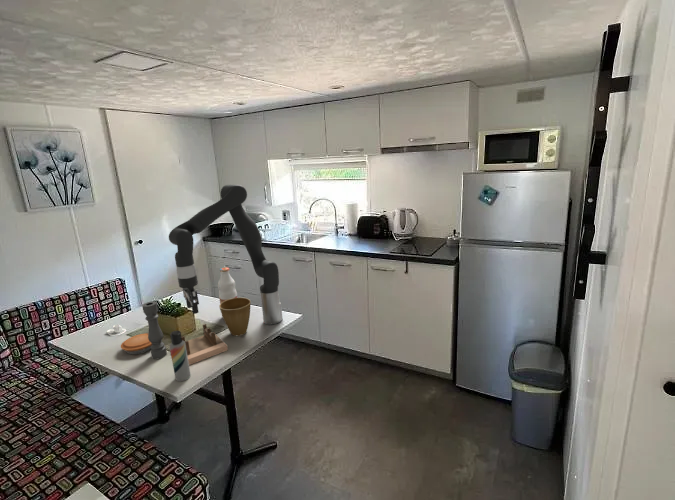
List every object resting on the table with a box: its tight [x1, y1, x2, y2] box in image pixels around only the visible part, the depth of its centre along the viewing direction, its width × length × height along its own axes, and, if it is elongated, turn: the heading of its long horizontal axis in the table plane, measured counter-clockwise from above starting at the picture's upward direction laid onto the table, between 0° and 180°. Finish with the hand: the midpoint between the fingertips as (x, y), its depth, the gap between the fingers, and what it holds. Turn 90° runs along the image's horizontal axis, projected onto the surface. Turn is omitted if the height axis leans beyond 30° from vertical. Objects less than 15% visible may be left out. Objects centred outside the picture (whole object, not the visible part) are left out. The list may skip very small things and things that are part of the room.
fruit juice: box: [217, 267, 238, 319], centre depth 197 cm, size 9×9×28 cm
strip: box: [188, 341, 228, 366], centre depth 160 cm, size 18×4×3 cm, turn 130°
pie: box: [120, 332, 152, 355], centre depth 170 cm, size 15×16×5 cm
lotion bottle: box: [169, 330, 192, 382], centre depth 142 cm, size 6×6×20 cm
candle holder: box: [141, 301, 168, 360], centre depth 160 cm, size 6×6×25 cm
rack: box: [181, 323, 224, 356], centre depth 168 cm, size 20×14×7 cm
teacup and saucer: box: [105, 324, 127, 337], centre depth 188 cm, size 9×8×4 cm
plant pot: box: [219, 297, 251, 337], centre depth 178 cm, size 15×15×16 cm
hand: (192, 310), depth 157 cm, fingers open, 8 cm apart
